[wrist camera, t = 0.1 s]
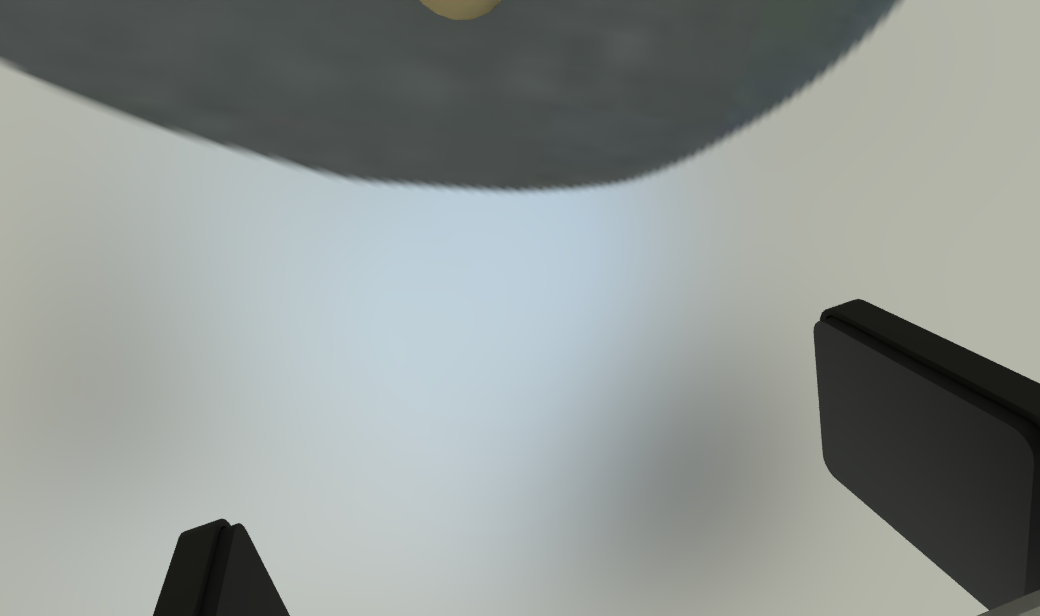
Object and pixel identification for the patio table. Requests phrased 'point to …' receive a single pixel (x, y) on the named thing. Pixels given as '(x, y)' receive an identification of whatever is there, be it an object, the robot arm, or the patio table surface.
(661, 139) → the patio table surface
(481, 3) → the cork
